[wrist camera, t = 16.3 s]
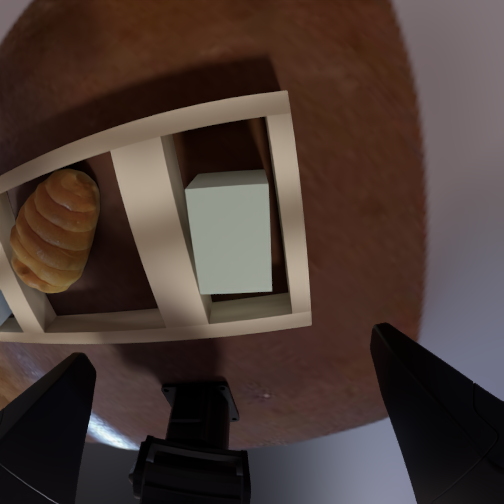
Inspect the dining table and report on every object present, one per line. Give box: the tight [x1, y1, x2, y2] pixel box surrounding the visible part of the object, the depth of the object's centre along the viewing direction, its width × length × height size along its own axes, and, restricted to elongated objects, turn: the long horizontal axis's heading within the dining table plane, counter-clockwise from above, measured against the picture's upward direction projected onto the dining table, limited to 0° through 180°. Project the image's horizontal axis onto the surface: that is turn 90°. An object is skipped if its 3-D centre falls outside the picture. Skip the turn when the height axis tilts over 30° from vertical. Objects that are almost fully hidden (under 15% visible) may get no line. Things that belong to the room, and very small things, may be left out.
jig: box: [0, 91, 312, 344], centre depth 18 cm, size 14×31×2 cm, turn 99°
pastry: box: [10, 169, 100, 293], centre depth 17 cm, size 9×7×4 cm
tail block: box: [185, 169, 272, 294], centre depth 17 cm, size 6×4×4 cm, turn 3°
